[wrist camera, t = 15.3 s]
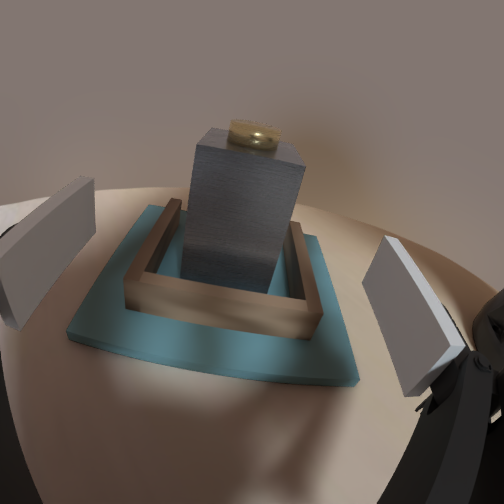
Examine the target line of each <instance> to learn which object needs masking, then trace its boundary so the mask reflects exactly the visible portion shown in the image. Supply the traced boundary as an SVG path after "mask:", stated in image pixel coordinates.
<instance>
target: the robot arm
mask: <svg viewBox="0 0 504 504" xmlns="http://www.w3.org/2000/svg"><path fill="white" fill-rule="evenodd" d="M95 233H96V225H95V198H94V178H91V177H84V176H80V177H78V178H77V179H75V180H74V181H72V182H71V183H70V184H68V185H67V186H65V187H64V188H63V189H61V190H60V191H58V192H57V193H56V194H54V195H53V196H52V197H50V198H49V199H48V200H46V201H45V202H44V203H42V204H41V205H40V206H39V207H37V208H36V209H35V210H34V211H32V212H31V213H30V214H29V215H27V216H26V217H25V218H24V219H22V220H21V221H20V222H19V223H17V224H15V225H13V226H11V227H9V228H8V229H7V230H6V231H5V232H3V233H2V234H1V236H0V314H1V316H2V318H3V320H4V323H5V325H7V326H10V327H12V328H14V329H16V330H19V331H21V330H22V328H23V327H24V325H25V324H26V322H27V321H28V319H29V318H30V316H31V315H32V313H33V312H34V310H35V309H36V308H37V306H38V305H39V303H40V302H41V301H42V299H43V298H44V296H45V295H46V294H47V292H48V291H49V290H50V288H51V287H52V286H53V284H54V283H55V282H56V280H57V279H58V278H59V276H60V275H61V274H62V273H63V271H64V270H65V269H66V267H67V266H68V265H69V264H70V262H71V261H72V260H73V259H74V258H75V256H76V255H77V254H78V253H79V251H80V250H81V249H82V248H83V247H84V246H85V244H86V243H87V242H88V241H89V240H90V239H91V237H92V236H93V235H94V234H95ZM362 285H363V287H364V289H365V292H366V294H367V296H368V299H369V301H370V304H371V306H372V309H373V311H374V314H375V316H376V319H377V321H378V324H379V326H380V329H381V332H382V334H383V337H384V340H385V342H386V345H387V348H388V351H389V353H390V356H391V359H392V362H393V365H394V368H395V370H396V373H397V376H398V379H399V382H400V385H401V388H402V392H403V395H404V397H413V396H420V395H421V394H422V393H423V392H424V391H425V390H426V389H427V388H428V387H429V386H430V388H431V390H432V394H431V395H430V396H429V397H428V398H427V399H425V400H424V401H423V402H422V403H421V404H420V405H419V406H418V407H417V408H416V410H415V411H416V412H417V411H419V410H420V409H421V408H423V410H422V412H421V413H420V414H421V415H420V418H419V420H418V423H417V425H416V428H415V430H414V432H413V435H412V437H411V439H410V441H409V444H408V446H407V448H406V450H405V452H404V454H403V456H402V458H401V460H400V462H399V464H398V466H397V468H396V470H395V472H394V474H393V476H392V478H391V480H390V481H389V483H388V485H387V487H386V489H385V490H384V492H383V494H382V495H381V497H380V499H379V500H378V502H377V504H504V289H503V290H501V291H500V292H499V293H498V294H497V295H495V296H494V297H493V298H492V299H491V300H489V301H488V302H487V303H486V304H485V305H484V307H483V308H482V310H481V311H480V312H479V314H478V315H477V317H476V318H475V320H474V322H473V336H474V341H475V344H476V347H477V349H478V351H470V349H469V347H468V345H467V343H466V341H465V340H464V338H463V336H462V334H461V332H460V331H459V329H458V327H456V324H455V322H454V320H453V319H452V317H451V315H450V314H449V312H448V310H447V309H446V308H445V306H444V305H443V304H442V303H441V302H440V301H439V299H438V297H437V296H436V294H435V293H434V291H433V289H432V288H431V286H430V285H429V283H428V282H427V280H426V279H425V277H424V276H423V274H422V273H421V271H420V270H419V268H418V267H417V265H416V264H415V262H414V261H413V260H412V258H411V257H410V255H409V254H408V252H407V251H406V250H405V248H404V247H403V245H402V244H401V243H400V241H399V240H398V239H397V238H393V237H389V236H386V235H384V237H383V239H382V241H381V244H380V246H379V248H378V250H377V252H376V254H375V257H374V259H373V261H372V263H371V265H370V267H369V269H368V271H367V273H366V275H365V277H364V279H363V281H362ZM500 409H501V416H500V417H499V418H498V419H497V420H496V421H495V422H493V423H491V417H492V416H494V415H495V414H496V413H497V412H498V411H499V410H500ZM0 504H43V503H42V500H41V498H40V496H39V494H38V491H37V489H36V487H35V484H34V482H33V480H32V477H31V474H30V472H29V469H28V467H27V464H26V461H25V458H24V455H23V452H22V449H21V446H20V443H19V440H18V436H17V433H16V429H15V426H14V422H13V418H12V414H11V410H10V405H9V401H8V396H7V391H6V386H5V380H4V374H3V368H2V361H1V353H0Z"/></svg>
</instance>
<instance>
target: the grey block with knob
mask: <svg viewBox="0 0 504 504" xmlns="http://www.w3.org/2000/svg"><path fill="white" fill-rule="evenodd" d="M281 132H282V131H281V130H280V129H278V128H276V127H273V126H269V125H266V124H263V123H258V122H253V121H247V120H237V119H236V120H231V122H230V127H229V131H228V130H222V129H217V128H211V129H210V130H209V131H208V132H207V133H206V135H205V136H204V137H203V138H202V139H201V140H200V141H199V142H198V143H197V145H196V151H195V158H194V165H193V171H192V178H191V185H190V192H189V200H188V208H187V216H186V224H185V233H184V243H183V252H182V263H181V274H180V279H184V280H190V281H195V282H200V283H206V284H211V285H216V286H222V287H228V288H233V289H239V290H245V291H251V292H256V293H262V294H267V293H268V290H269V287H270V284H271V281H272V277H273V274H274V271H275V268H276V265H277V261H278V258H279V255H280V252H281V249H282V245H283V242H284V239H285V236H286V232H287V229H288V226H289V222H290V219H291V216H292V212H293V209H294V206H295V202H296V199H297V196H298V192H299V189H300V185H301V182H302V178H303V175H304V172H305V168H306V166H305V164H304V162H303V160H302V159H301V157H300V155H299V154H298V152H297V150H296V149H295V147H294V145H293V144H290V143H285V142H281V141H279V140H280V136H281Z"/></svg>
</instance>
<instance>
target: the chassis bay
mask: <svg viewBox="0 0 504 504" xmlns="http://www.w3.org/2000/svg"><path fill="white" fill-rule="evenodd" d="M181 203H182V200H179V199H173V198H171V199H170V201H169V202H168V204H167V206H166V207H161V206H155V205H148V207H147V208H146V209H145V211H144V212H143V213H142V215H141V216H140V217H139V219H138V220H137V221H136V223H135V224H134V225H133V227H132V228H131V230H130V231H129V232H128V234H127V235H126V237H125V238H124V239H123V241H122V242H121V244H120V245H119V247H118V248H117V250H116V251H115V252H114V254H113V255H112V257H111V258H110V260H109V261H108V263H107V264H106V266H105V267H104V269H103V270H102V272H101V274H100V275H99V277H98V278H97V280H96V281H95V283H94V284H93V286H92V288H91V289H90V291H89V293H88V294H87V296H86V297H85V299H84V301H83V302H82V304H81V306H80V307H79V309H78V311H77V312H76V314H75V316H74V318H73V319H72V321H71V323H70V325H69V326H68V328H67V330H66V332H67V335H68V338H69V340H73V341H76V342H79V343H82V344H85V345H88V346H92V347H95V348H99V349H102V350H106V351H109V352H113V353H116V354H120V355H124V356H128V357H132V358H136V359H140V360H144V361H149V362H153V363H157V364H162V365H167V366H171V367H176V368H181V369H187V370H192V371H198V372H203V373H209V374H215V375H222V376H229V377H236V378H243V379H251V380H260V381H269V382H279V383H291V384H304V385H321V386H351V387H354V386H355V385H356V384H357V383H358V381H359V380H360V378H359V374H358V370H357V367H356V363H355V359H354V355H353V352H352V348H351V345H350V341H349V338H348V334H347V331H346V327H345V324H344V320H343V317H342V314H341V310H340V307H339V304H338V301H337V297H336V294H335V291H334V288H333V285H332V282H331V278H330V275H329V272H328V269H327V266H326V263H325V260H324V257H323V254H322V251H321V248H320V245H319V243H318V240H317V237H316V236H313V235H308V234H303V232H302V229H301V225H300V223H299V222H294V221H290V222H289V226H288V229H287V232H286V236H285V239H284V242H283V245H282V249H281V252H280V255H279V258H278V261H277V265H276V268H275V271H274V274H273V277H272V281H271V284H270V287H269V290H268V293H267V294H262V293H256V292H251V291H245V290H239V289H233V288H228V287H222V286H216V285H211V284H206V283H200V282H195V281H190V280H184V279H180V274H181V263H182V252H183V243H184V233H185V224H186V216H187V211H184V210H181Z"/></svg>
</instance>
